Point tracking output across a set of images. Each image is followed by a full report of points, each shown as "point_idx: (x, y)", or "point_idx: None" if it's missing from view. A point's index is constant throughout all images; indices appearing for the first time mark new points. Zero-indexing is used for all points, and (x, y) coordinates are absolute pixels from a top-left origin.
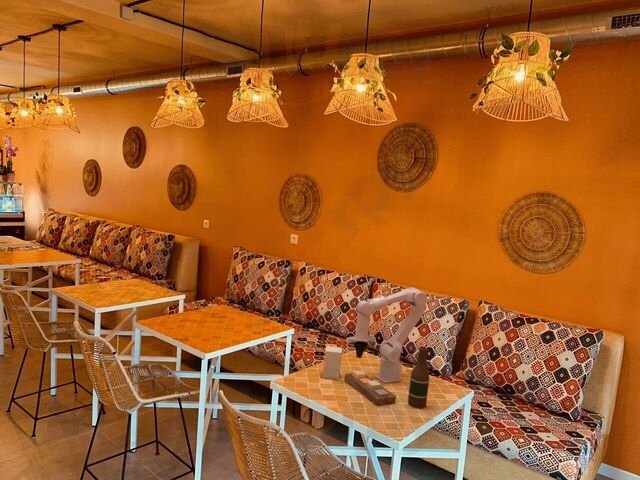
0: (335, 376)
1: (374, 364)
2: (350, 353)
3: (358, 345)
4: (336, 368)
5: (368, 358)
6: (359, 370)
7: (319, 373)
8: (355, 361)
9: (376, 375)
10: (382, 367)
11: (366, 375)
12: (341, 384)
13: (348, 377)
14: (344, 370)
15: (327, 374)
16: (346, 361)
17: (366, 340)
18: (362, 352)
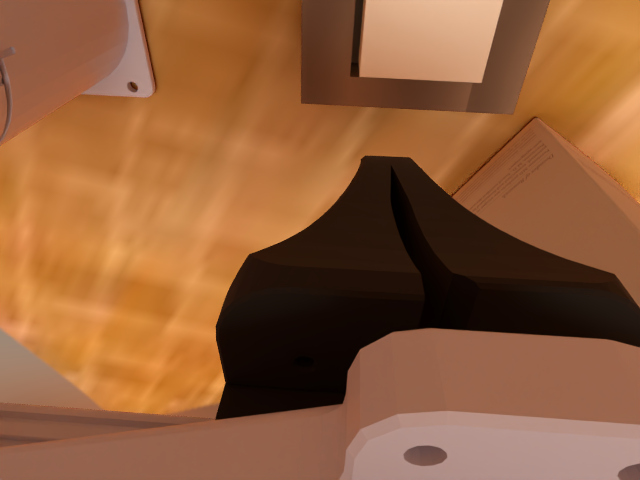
0: (569, 144)
1: (75, 280)
2: (173, 410)
3: (631, 300)
4: (607, 182)
5: (87, 350)
6: (384, 66)
7: None
8: (192, 338)
9: (136, 91)
10: (45, 8)
11: (305, 7)
12: (599, 12)
13: (534, 35)
14: None
15: (622, 187)
16: None
17: (505, 416)
18: (369, 192)
